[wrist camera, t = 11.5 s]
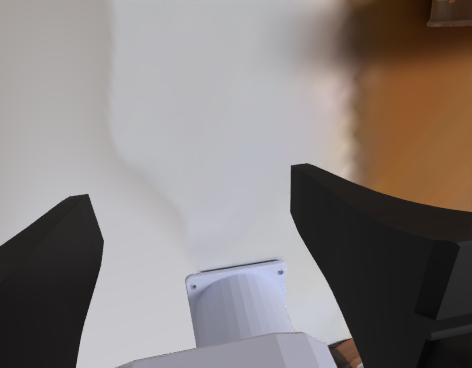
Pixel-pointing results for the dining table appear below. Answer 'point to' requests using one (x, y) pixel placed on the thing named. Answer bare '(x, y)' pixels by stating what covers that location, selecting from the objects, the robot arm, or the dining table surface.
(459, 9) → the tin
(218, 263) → the dining table surface
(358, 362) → the brown curved band
